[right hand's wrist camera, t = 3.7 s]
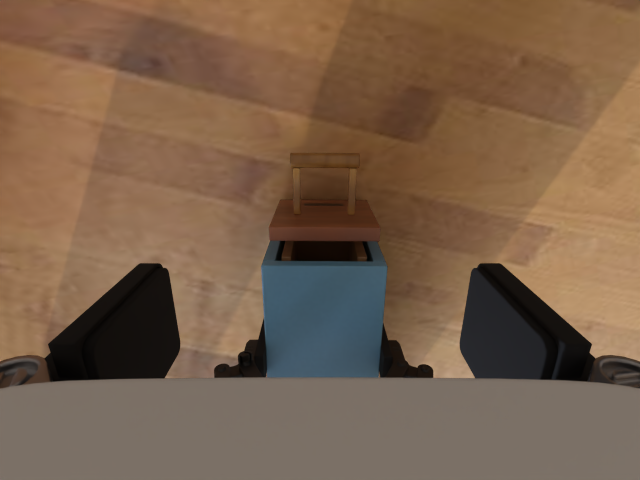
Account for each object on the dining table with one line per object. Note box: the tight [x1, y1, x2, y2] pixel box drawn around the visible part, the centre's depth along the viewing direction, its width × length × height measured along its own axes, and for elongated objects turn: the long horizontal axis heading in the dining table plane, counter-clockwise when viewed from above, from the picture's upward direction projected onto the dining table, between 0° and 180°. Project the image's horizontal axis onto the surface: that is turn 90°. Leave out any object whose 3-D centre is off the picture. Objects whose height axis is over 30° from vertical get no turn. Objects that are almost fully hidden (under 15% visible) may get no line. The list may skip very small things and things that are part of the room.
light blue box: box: [261, 241, 387, 378], centre depth 36 cm, size 14×10×11 cm
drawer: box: [269, 153, 380, 262], centre depth 34 cm, size 18×9×9 cm, turn 0°
